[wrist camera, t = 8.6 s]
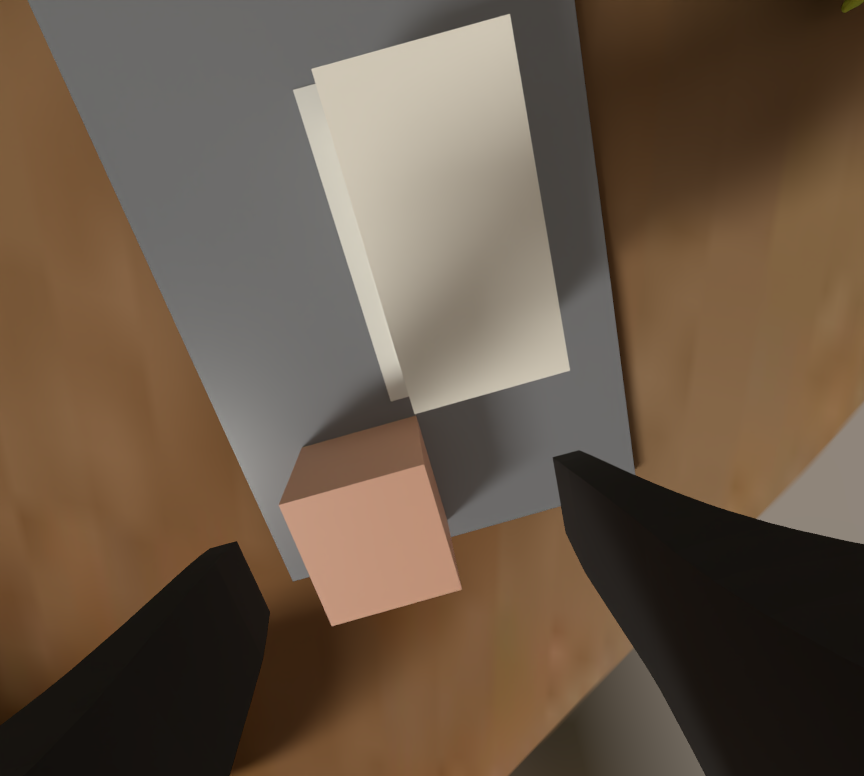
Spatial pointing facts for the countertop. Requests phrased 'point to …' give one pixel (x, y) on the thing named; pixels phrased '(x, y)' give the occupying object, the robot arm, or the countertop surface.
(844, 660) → the robot arm
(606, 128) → the countertop surface
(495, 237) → the cream brick
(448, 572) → the terracotta brick
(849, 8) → the bird rattle
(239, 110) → the baseplate
